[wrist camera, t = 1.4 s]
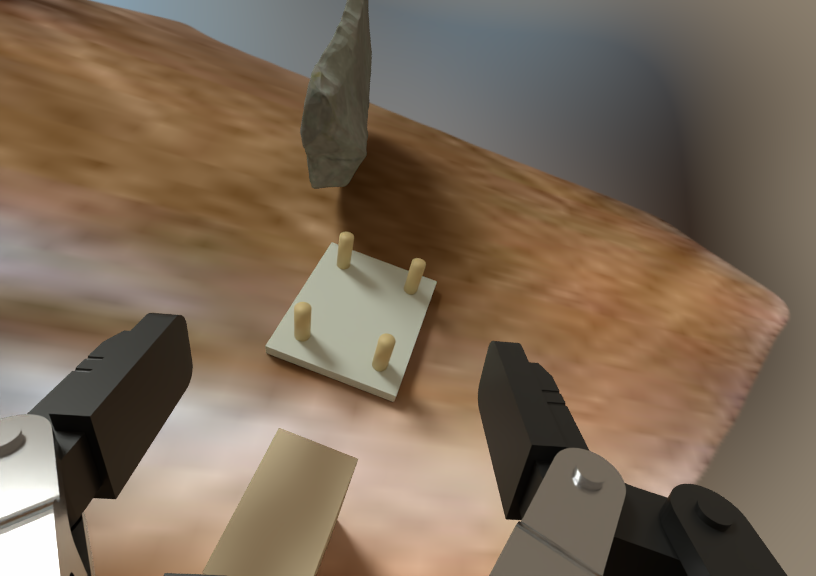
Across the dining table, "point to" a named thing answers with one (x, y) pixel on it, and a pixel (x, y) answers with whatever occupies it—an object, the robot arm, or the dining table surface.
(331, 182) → the rock
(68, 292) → the dining table surface
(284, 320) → the peg board
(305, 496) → the tan wooden block
